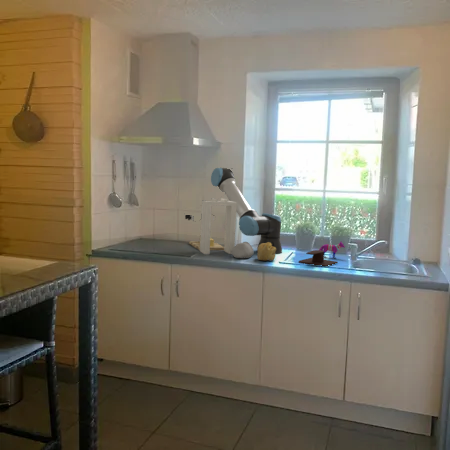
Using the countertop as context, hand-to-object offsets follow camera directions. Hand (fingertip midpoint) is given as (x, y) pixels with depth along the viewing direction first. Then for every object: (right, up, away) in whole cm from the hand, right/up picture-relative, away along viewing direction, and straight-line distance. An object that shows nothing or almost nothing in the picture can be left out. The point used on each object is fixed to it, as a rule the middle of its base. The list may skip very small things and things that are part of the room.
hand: (203, 218), depth 305 cm
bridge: (+9, -20, -27) cm, 35 cm away
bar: (+2, -16, -4) cm, 16 cm away
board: (+2, -18, -7) cm, 19 cm away
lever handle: (+64, -26, -46) cm, 83 cm away
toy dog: (+75, -23, -24) cm, 82 cm away
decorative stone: (+24, -22, -37) cm, 49 cm away
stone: (+36, -24, -44) cm, 61 cm away
